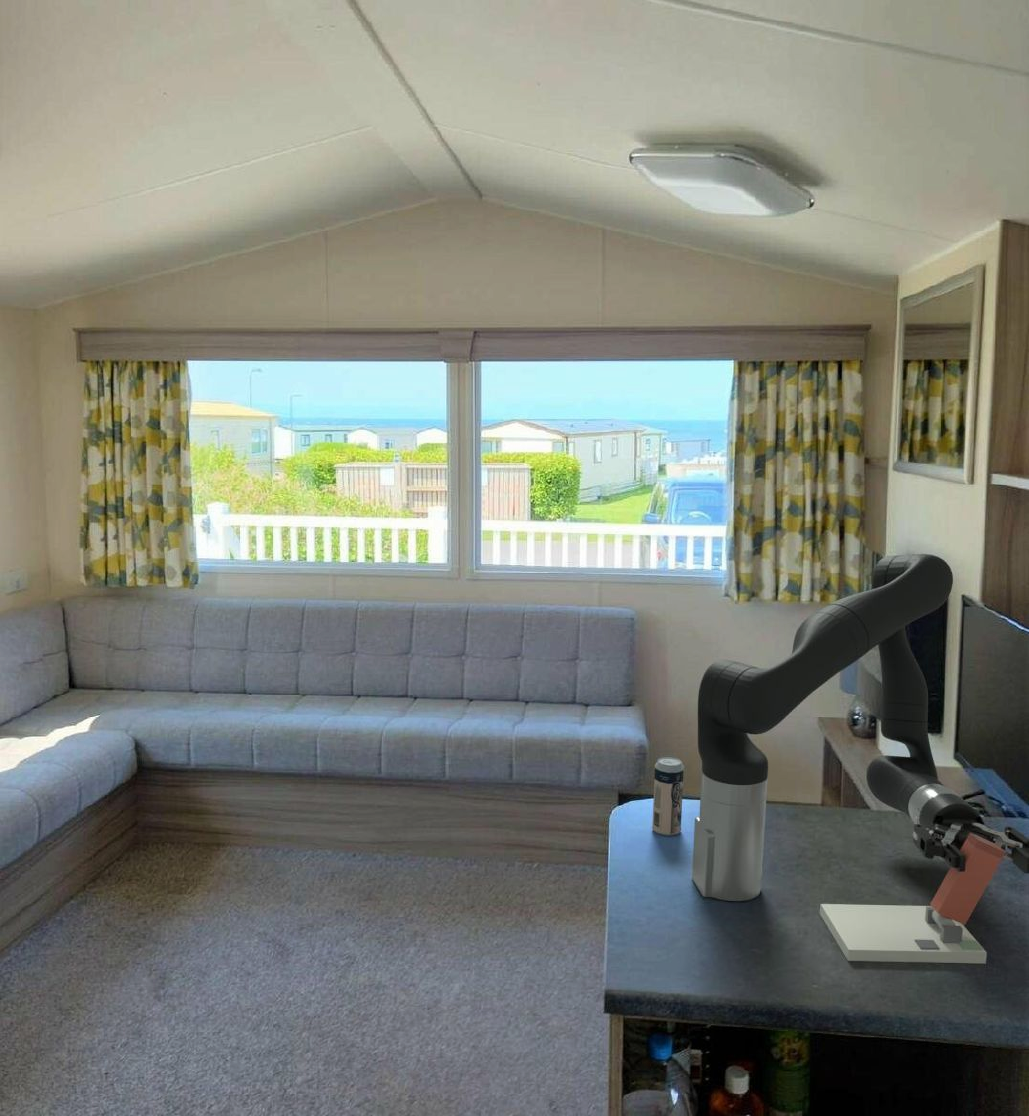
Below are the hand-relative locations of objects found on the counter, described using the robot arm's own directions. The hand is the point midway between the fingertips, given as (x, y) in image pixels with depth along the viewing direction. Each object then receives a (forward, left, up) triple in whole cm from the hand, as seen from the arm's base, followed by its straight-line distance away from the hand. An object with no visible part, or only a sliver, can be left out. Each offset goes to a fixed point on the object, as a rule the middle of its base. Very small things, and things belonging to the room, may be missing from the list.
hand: (996, 865), depth 131 cm
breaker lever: (-5, +3, -9) cm, 10 cm away
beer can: (-32, +40, -12) cm, 52 cm away
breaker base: (-10, +4, -12) cm, 16 cm away
